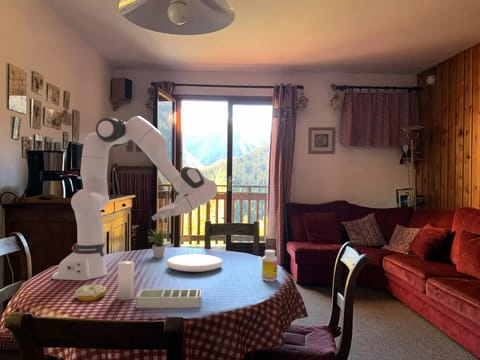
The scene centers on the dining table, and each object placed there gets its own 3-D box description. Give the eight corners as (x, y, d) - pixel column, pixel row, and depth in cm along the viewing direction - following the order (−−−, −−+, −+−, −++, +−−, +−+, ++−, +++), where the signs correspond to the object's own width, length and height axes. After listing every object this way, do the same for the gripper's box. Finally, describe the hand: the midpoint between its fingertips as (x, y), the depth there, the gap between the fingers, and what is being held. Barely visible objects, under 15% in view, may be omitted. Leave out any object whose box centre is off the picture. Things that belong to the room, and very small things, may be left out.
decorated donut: (69, 302, 131) (69, 291, 131) (82, 292, 142) (82, 283, 142) (99, 302, 131) (99, 292, 131) (109, 293, 142) (109, 283, 142)
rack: (136, 307, 126) (136, 297, 126) (141, 298, 135) (141, 289, 135) (200, 307, 128) (200, 297, 127) (201, 298, 136) (201, 289, 136)
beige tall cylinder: (115, 300, 133) (116, 264, 133) (119, 295, 139) (120, 260, 139) (131, 300, 134) (132, 264, 133) (135, 295, 139) (135, 260, 139)
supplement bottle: (274, 282, 159) (275, 252, 158) (260, 280, 161) (260, 251, 161) (278, 278, 165) (279, 249, 165) (264, 276, 167) (264, 248, 167)
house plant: (146, 253, 211) (147, 225, 211) (171, 253, 213) (171, 225, 213) (143, 259, 197) (143, 228, 197) (169, 259, 199) (169, 228, 198)
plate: (179, 251, 197) (228, 254, 192) (179, 263, 197) (227, 267, 191) (158, 257, 170) (213, 261, 164) (157, 271, 169) (213, 275, 164)
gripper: (172, 198, 164) (145, 212, 157) (191, 194, 147) (162, 209, 140) (178, 210, 165) (151, 225, 158) (198, 208, 148) (169, 224, 141)
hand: (156, 218), depth 149 cm, fingers open, 8 cm apart
